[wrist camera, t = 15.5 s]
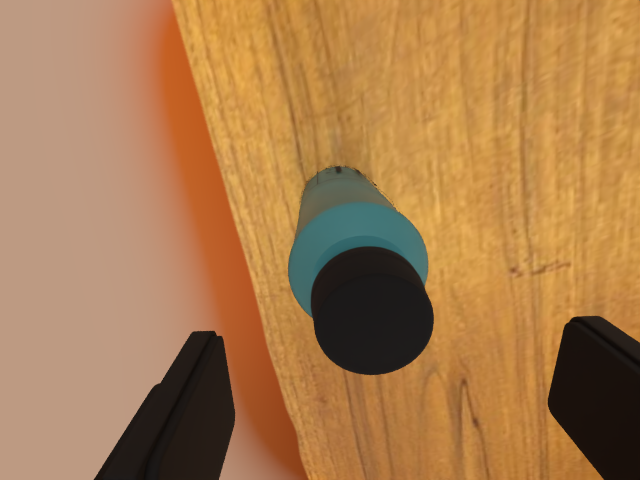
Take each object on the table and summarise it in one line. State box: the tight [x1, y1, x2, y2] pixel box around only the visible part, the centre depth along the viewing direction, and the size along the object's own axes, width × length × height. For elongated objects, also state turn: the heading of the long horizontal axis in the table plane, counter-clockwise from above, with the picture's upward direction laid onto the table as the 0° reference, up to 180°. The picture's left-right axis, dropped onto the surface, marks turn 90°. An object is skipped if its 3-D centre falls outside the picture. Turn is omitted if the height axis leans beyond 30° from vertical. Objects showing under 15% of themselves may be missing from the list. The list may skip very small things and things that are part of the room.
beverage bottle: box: [288, 165, 434, 375], centre depth 20 cm, size 6×7×20 cm
